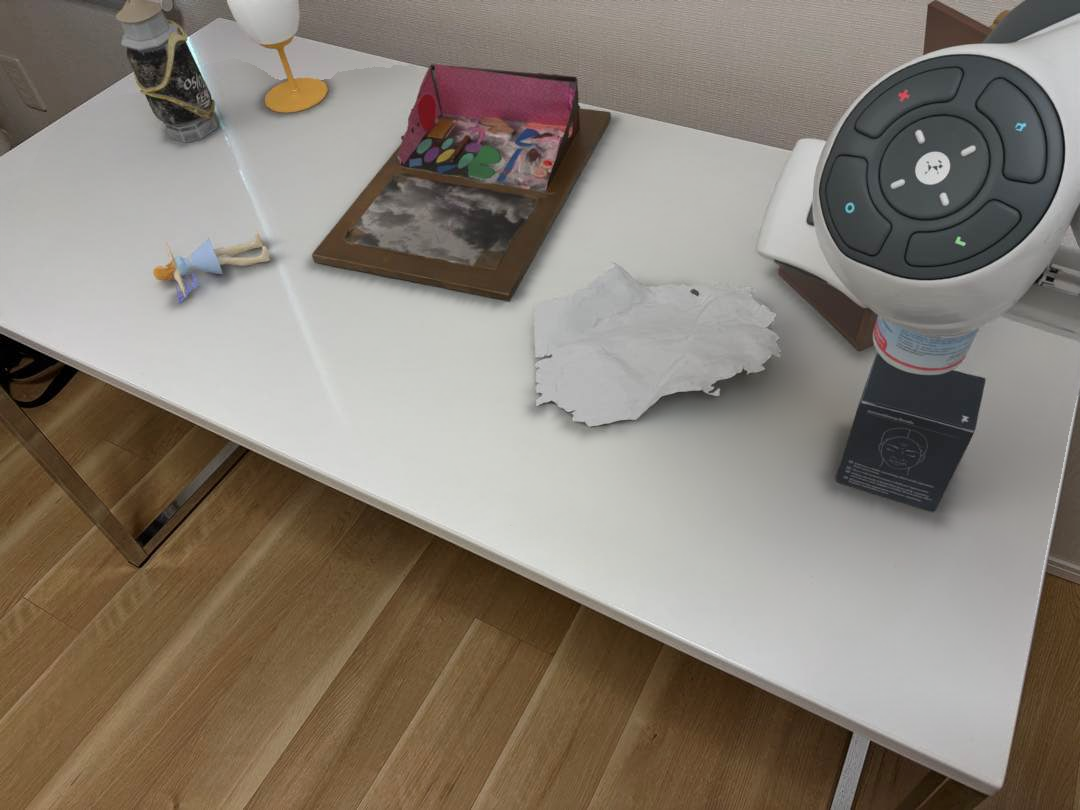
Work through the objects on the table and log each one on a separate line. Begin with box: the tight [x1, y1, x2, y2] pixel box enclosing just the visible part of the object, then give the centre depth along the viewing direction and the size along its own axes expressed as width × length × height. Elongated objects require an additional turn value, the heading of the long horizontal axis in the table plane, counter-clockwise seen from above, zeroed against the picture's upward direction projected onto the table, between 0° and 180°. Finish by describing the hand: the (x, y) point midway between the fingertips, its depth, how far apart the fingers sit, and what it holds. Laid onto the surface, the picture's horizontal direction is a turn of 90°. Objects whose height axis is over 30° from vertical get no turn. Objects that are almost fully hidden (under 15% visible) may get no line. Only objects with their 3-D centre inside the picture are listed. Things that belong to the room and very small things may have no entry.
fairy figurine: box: [152, 230, 271, 304], centre depth 90 cm, size 12×5×12 cm
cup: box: [226, 0, 329, 114], centre depth 109 cm, size 9×9×16 cm
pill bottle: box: [873, 316, 980, 375], centre depth 52 cm, size 6×6×11 cm
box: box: [835, 351, 987, 513], centre depth 63 cm, size 8×6×11 cm
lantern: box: [115, 0, 219, 143], centre depth 103 cm, size 9×8×25 cm
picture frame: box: [311, 63, 612, 301], centre depth 94 cm, size 24×35×8 cm
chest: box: [777, 265, 878, 352], centre depth 77 cm, size 15×13×9 cm
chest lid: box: [922, 0, 1011, 56], centre depth 69 cm, size 16×13×5 cm
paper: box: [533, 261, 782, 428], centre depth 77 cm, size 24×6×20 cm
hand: (945, 275), depth 52 cm, fingers closed on pill bottle, 6 cm apart
